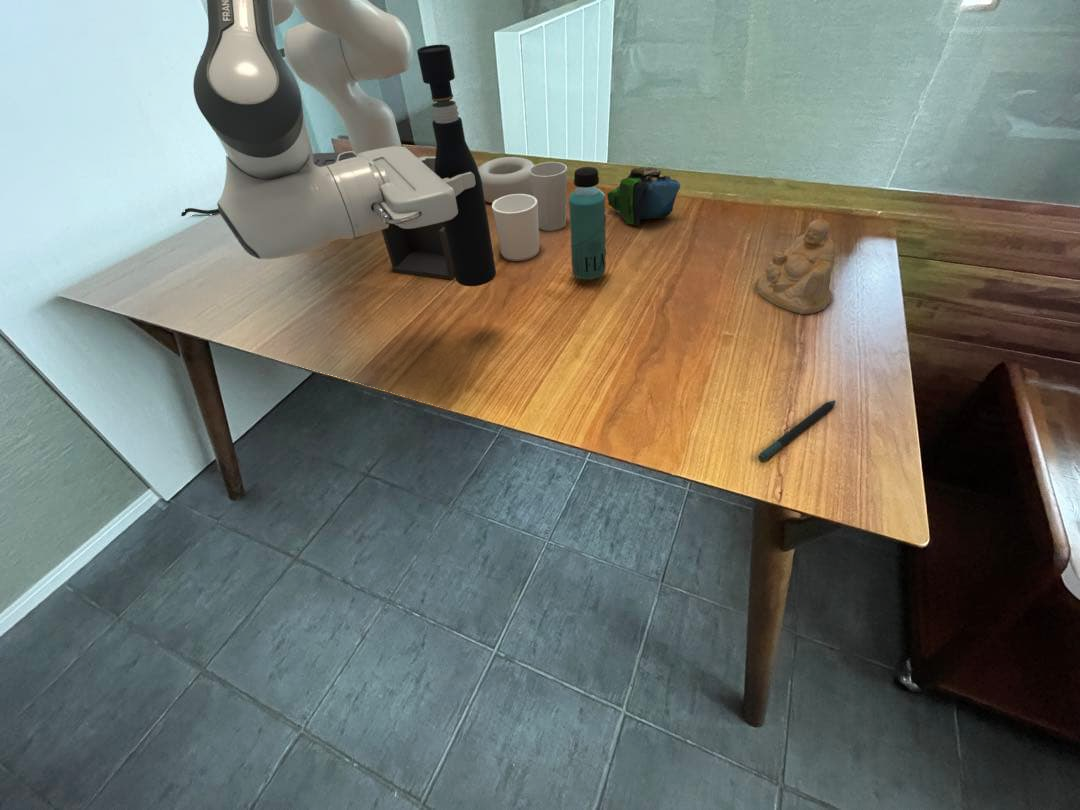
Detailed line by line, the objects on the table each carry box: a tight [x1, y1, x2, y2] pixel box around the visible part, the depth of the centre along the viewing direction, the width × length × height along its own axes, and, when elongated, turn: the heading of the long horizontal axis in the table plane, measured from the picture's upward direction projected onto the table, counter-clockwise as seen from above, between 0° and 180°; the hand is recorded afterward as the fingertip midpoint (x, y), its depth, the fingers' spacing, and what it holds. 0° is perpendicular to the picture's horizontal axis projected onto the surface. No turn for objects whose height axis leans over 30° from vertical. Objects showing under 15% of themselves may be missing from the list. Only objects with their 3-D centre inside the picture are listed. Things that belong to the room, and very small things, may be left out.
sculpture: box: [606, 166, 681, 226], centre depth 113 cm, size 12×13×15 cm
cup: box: [529, 161, 568, 232], centre depth 113 cm, size 8×8×12 cm
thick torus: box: [477, 156, 535, 204], centre depth 130 cm, size 15×15×7 cm
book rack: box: [380, 222, 455, 281], centre depth 104 cm, size 14×8×12 cm, turn 68°
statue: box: [756, 218, 836, 315], centre depth 87 cm, size 12×14×10 cm
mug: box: [491, 194, 540, 262], centre depth 107 cm, size 11×9×10 cm
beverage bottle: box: [568, 166, 607, 280], centre depth 93 cm, size 6×7×20 cm
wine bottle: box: [416, 43, 497, 287], centre depth 71 cm, size 6×6×30 cm
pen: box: [757, 400, 836, 462], centre depth 68 cm, size 1×16×1 cm, turn 127°
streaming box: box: [313, 152, 341, 167], centre depth 148 cm, size 14×14×5 cm
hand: (462, 169), depth 71 cm, fingers closed on wine bottle, 6 cm apart
